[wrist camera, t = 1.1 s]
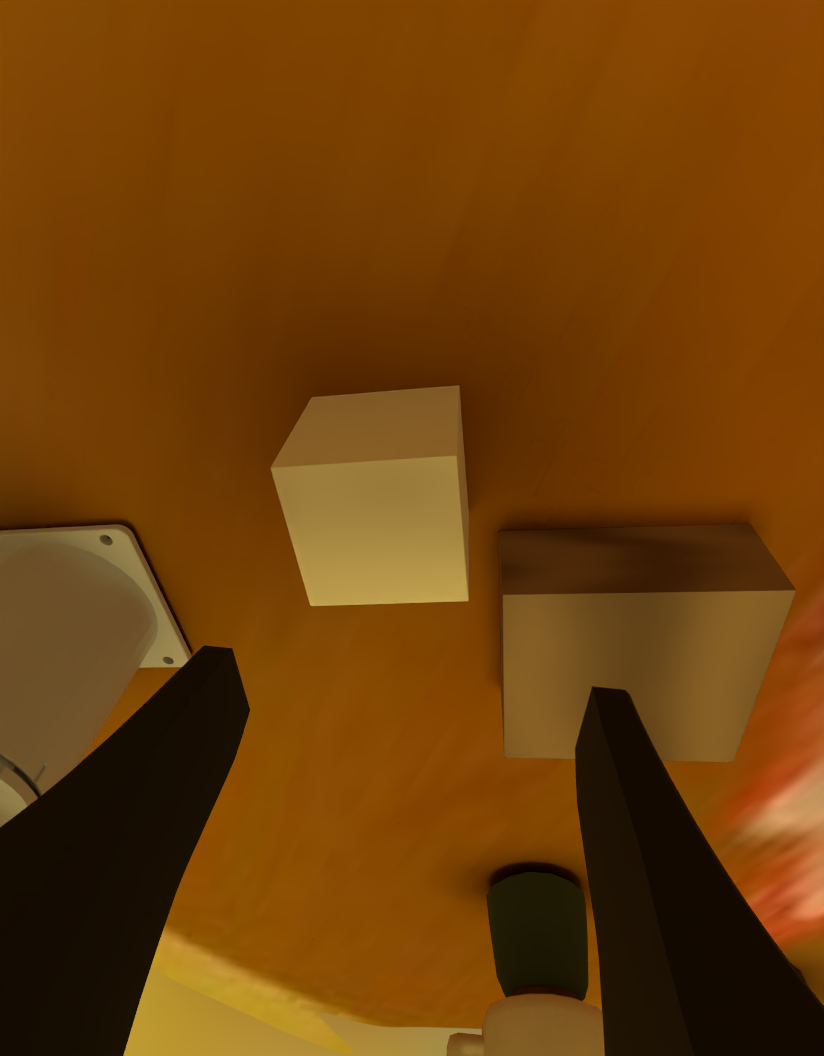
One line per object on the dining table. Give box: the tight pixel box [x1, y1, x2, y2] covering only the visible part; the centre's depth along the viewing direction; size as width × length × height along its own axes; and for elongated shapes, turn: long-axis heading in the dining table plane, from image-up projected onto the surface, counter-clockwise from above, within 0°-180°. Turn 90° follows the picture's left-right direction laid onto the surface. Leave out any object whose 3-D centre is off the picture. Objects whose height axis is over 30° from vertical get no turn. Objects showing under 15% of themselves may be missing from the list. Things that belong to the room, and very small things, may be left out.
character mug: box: [447, 872, 605, 1056], centre depth 32 cm, size 11×7×13 cm, turn 92°
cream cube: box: [271, 385, 469, 606], centre depth 19 cm, size 5×5×5 cm
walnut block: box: [499, 523, 796, 762], centre depth 23 cm, size 9×9×4 cm
